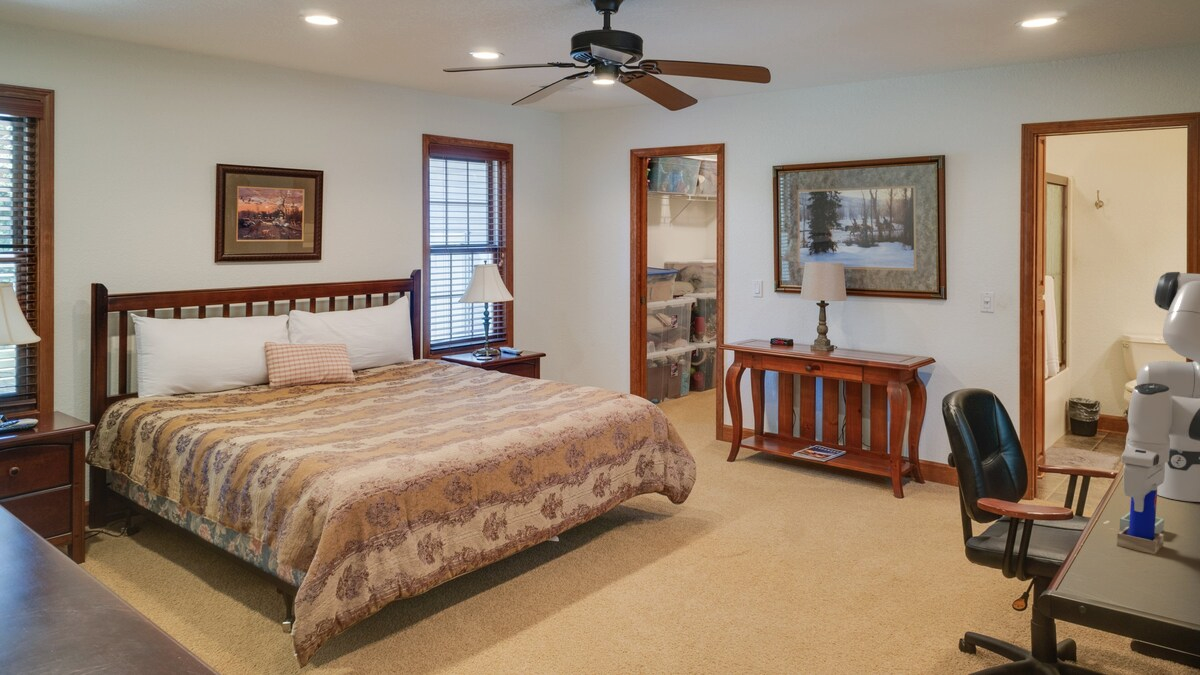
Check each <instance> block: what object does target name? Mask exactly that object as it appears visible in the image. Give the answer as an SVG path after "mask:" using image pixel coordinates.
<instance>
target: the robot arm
mask: <svg viewBox="0 0 1200 675" xmlns="http://www.w3.org/2000/svg"><path fill="white" fill-rule="evenodd" d="M1153 299H1154V303H1155V305H1156V306H1157V307H1158V308H1159V309H1162V310H1165V311H1167V314H1166V317H1165V320H1164V324H1163V328H1162V338H1163V340H1164V342H1165V343H1166V345H1167V347H1169V348H1170V349H1171V350H1172V351H1173V352H1174V353H1176V354H1178V355H1180V356H1182V357H1183V358H1186V359H1189V360H1192V361H1175V360H1174V361H1171V360H1169V361H1168V360H1161V361H1152V362H1147V363H1144V364H1143V365H1142V366H1141V367H1140V368H1139V370H1138V372H1137V373H1136V379H1135V380H1136V381H1135V382H1136V385H1135V386H1134V387H1133V389H1132V392H1131V395H1130V400H1129V403H1128V411H1127V423H1128V431H1127V434H1126V438H1125V439H1126V440H1125V447H1124V450H1123V452H1122V454H1121V458H1120V459H1121V463H1123V471H1122V472H1123V473H1122V478H1123V479H1122V481H1123V482H1122V486H1123V492H1124V496H1126V497H1130V498H1131V497H1133V500H1134V510H1135V511H1137V512H1143V511H1144V509H1145V508H1144V507H1145V504H1144V498H1145V495H1146V494H1148V493H1149V492H1151V489H1152V486H1154V485H1155V484H1156V486H1157V496H1160V497H1163V498H1166V499H1172V500H1176V501H1177V500H1178V501H1182V502H1195V503H1197V502H1198V503H1200V273H1181V272H1180V271H1170V272H1169V271H1168V272H1165V273H1164V274H1162V275H1161V276H1160V277H1159V279H1158V280H1157V282H1156V283H1155V285H1154V288H1153Z"/></svg>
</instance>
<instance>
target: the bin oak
mask: <svg viewBox="0 0 1200 675" xmlns="http://www.w3.org/2000/svg"><path fill="white" fill-rule="evenodd" d="M1116 536H1117V538H1116V546H1117V547H1121V548H1125V549H1131V550H1134V551H1139V552H1144V553H1148V554H1152V555H1155V554H1156V553H1158V551H1159V550H1161V548H1163V547H1164V542H1165V541H1164V540H1165V538H1164V537H1165V533H1162V532H1161V533H1157V532H1154V540H1153V541H1152V540H1148V539H1143V538H1139V537H1134V536H1130V535H1129V526H1127V527H1126V528H1124V529H1123V530H1122V531H1121V530H1119V532H1117V535H1116Z"/></svg>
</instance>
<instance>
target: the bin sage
mask: <svg viewBox="0 0 1200 675" xmlns="http://www.w3.org/2000/svg"><path fill="white" fill-rule="evenodd" d="M1129 523H1130V511H1129V512H1127V513H1126V514H1124V515H1123V516H1122V517H1120V518H1119V529H1118V530H1119V531H1122V530H1123V529H1124V528H1126V527H1127V526H1129ZM1164 528H1165V519H1164V518H1160V517H1157V516H1156V517H1155V532H1157V533H1161V534H1162V532H1164Z"/></svg>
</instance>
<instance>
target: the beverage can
mask: <svg viewBox="0 0 1200 675" xmlns="http://www.w3.org/2000/svg"><path fill="white" fill-rule="evenodd" d="M1157 499H1158V495H1157V486H1156V484H1155V485H1154V486H1152V489H1151V492H1149V493H1148V494H1146V495H1145V498H1144V504H1145V507H1144V508H1145V509H1144V511H1143V512H1137V511H1135V510H1134V500H1133V497H1130V509H1129V512H1130V523H1129V535H1130V536H1134V537H1139V538H1143V539H1148V540H1152V541H1153V540H1154V532H1155V517H1156V518H1157Z"/></svg>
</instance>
